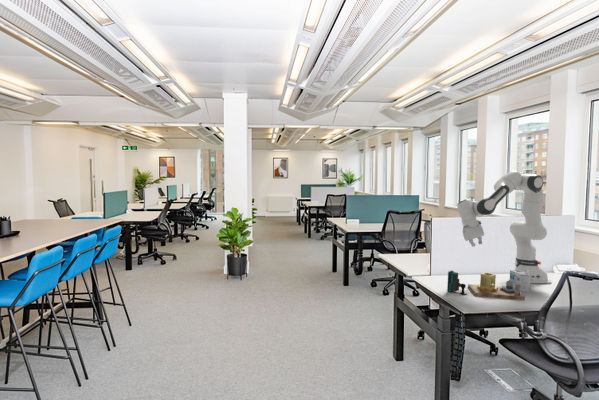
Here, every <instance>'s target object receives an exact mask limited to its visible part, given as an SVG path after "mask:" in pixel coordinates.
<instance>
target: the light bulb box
mask: <svg viewBox="0 0 599 400" xmlns="http://www.w3.org/2000/svg"><path fill="white" fill-rule="evenodd" d="M530 275H531V274H529V273H526V272H524V271H521V270H515V269H510V270H509V280H511V281H512V282H513V288H515V284H521V292H530V289H531V288H530V287H531V286H530V285H531V283H530Z"/></svg>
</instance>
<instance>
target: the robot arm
mask: <svg viewBox="0 0 599 400" xmlns="http://www.w3.org/2000/svg"><path fill="white" fill-rule="evenodd" d="M543 185H544V179H543V177H542V176H541V175H539V174H536V173H535V174H531V173H524V174H522V173H520V172H519V171H518V170H511V171H509V172H507V173H506V174H504V175H503V176H501V177H500V178H499V179H498V180H497V181H496V182H495V184H494V185H493V190H494V192H493V193H492V194H491V195H489V196H488V197H486V198H482V199H481V200H479V201H475V200H470V199H469V198H465V199H463V200H461V201H458V203H457V206H456V208H457V211H458V214H459V217H460V218H461V223H462V234H463V235H462V236H463V238H464V240H465V241H468V242H469V244H470V245H471V247H472V248H473V247H475V246H476V243H475V242H474V239H477V241H478V242H477V243H478V245H483V241H482V239H483V236H485V232H484V228H483V226H482V222H481V221H480V220H479V219H477V218H478V217H479V218H480V217H483V216H487V215H492V214H493V213H494V212H495V210H496V208H497V205H498V204H499V203H500V202H501V201H502V200H503V199H504V198H505V197H507V196H508V195H509V194H511V193H512V192H513V191H514V190H516V191H523V192H524V197H523V201H522V206H521V215H523V216H524V219H525V221H521V220H519V221H513V222H512V223H511V224H510V226H509V232H510V233H511V235H512V236H513V238H514V240H515V244H516V256H515V260H514V261H515V262H514V264H515V268H514V270H521V271H524V272H526V273H529V274H531V275H530V284H552V280H551V279H549V277H548V273H547V271H545V270H544V269H543V268H542V267H541V266H539V265H541V264H542V261H539V260H537V259H536V256H537V255H536V254H537V253H536V252H537V249H536V248H537V247H535V245H534V244H533V242H532V241H542V240H544V239H545V238H546V237H547V234H548V230H547V228H546V227H545V225H544V224H543V222H542V217H541V216H542V206H543V199H544V193H543V192H544V190H543Z"/></svg>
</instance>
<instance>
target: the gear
mask: <svg viewBox="0 0 599 400" xmlns="http://www.w3.org/2000/svg"><path fill="white" fill-rule="evenodd" d="M499 287H500V290H501V291H505V292H507V293H514V291H515V288H513V282H512V281H511V280H510V279H508V280H506V281H505V285H502V286H499Z"/></svg>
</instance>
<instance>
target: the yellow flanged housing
mask: <svg viewBox="0 0 599 400" xmlns="http://www.w3.org/2000/svg"><path fill="white" fill-rule="evenodd" d="M496 276H497V274H496V273H495V274H494V273H491V272H485V271H484V272H482V273H480V280H479V282H480V284H477V285H478V286H477V289H481V290H483V291H489V292H493V291H497V290H498V287H499V286H498V287H495V286H496Z"/></svg>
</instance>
